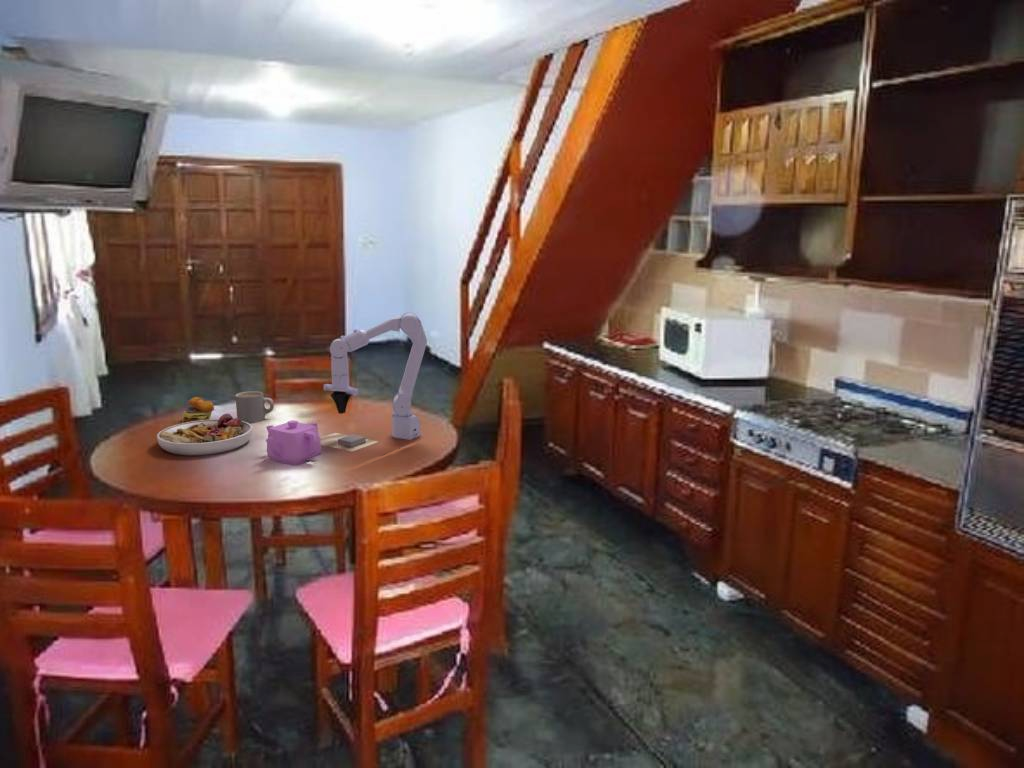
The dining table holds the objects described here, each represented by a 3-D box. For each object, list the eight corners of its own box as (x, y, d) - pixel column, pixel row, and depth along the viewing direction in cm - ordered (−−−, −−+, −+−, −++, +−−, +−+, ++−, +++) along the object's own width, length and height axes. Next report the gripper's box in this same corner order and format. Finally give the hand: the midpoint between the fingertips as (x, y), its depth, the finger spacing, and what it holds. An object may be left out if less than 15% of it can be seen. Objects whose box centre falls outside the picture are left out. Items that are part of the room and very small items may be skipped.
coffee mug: (233, 423, 280) (231, 397, 277) (241, 416, 289) (240, 391, 287) (270, 423, 280) (268, 397, 278) (276, 416, 290) (275, 391, 288)
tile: (352, 439, 256) (365, 442, 253) (338, 444, 250) (351, 447, 247) (352, 434, 256) (365, 436, 253) (337, 439, 250) (351, 442, 247)
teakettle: (322, 464, 235) (320, 426, 232) (265, 468, 230) (263, 430, 227) (321, 448, 251) (319, 412, 248) (268, 452, 246) (265, 416, 243)
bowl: (221, 461, 237) (219, 437, 235) (138, 455, 243) (135, 431, 241) (269, 435, 266) (268, 414, 264) (194, 430, 271) (192, 409, 270)
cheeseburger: (180, 418, 285) (185, 393, 284) (210, 422, 290) (214, 397, 289) (181, 424, 276) (186, 398, 275) (211, 428, 281) (216, 402, 280)
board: (378, 445, 254) (378, 441, 254) (352, 455, 243) (351, 451, 243) (335, 435, 264) (335, 432, 264) (308, 445, 254) (308, 441, 253)
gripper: (316, 373, 254) (318, 412, 257) (347, 378, 247) (349, 418, 250) (331, 370, 260) (332, 408, 263) (362, 375, 253) (363, 413, 256)
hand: (341, 412), depth 257 cm, fingers closed
